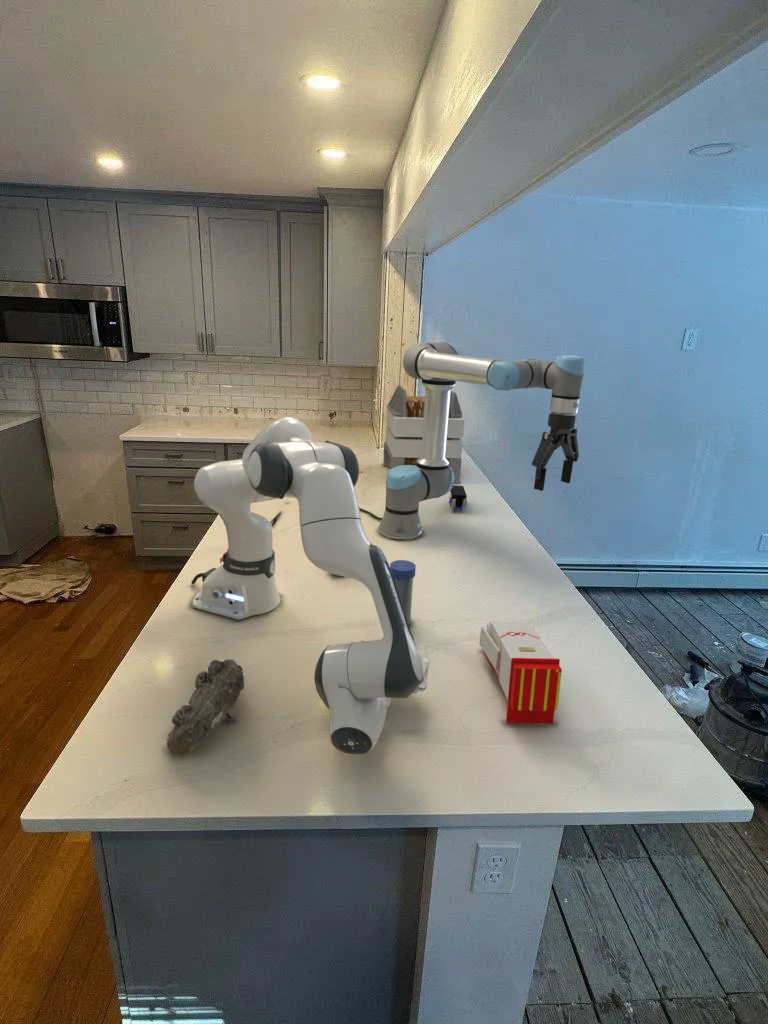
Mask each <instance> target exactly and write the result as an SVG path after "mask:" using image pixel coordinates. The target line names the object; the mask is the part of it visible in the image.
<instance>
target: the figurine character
mask: <svg viewBox="0 0 768 1024" xmlns="http://www.w3.org/2000/svg"><path fill="white" fill-rule="evenodd" d="M467 495H468V494H467V493H466V490H465V487H464V485H456V484H455V485H454V484H453V487H452V489H451V490H450V491H449V496H448V499H449V500H448V504H449V506H450V507H451V508H452V510H453V512H456V510H458V509H459V510H460V512H463V509H464V508H465V509H466V508H467V506H468V499H467V497H468V496H467Z"/></svg>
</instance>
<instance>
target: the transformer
mask: <svg viewBox="0 0 768 1024" xmlns="http://www.w3.org/2000/svg"><path fill="white" fill-rule="evenodd" d="M407 394H408V393H407V390H406V389H404V388H403V387H402V385H399V384H398V385H397V386H396V388H395V390H394V392H393V394H392V395H391V398H390V400H389V402H388V404H387V405H386V413H385V414H386V415H385V423H386V428H385V438H384V442H383V466H384V467H388V468H389V470H390V469H392V468H394V467H396V466H401V465H404V466H405V465H413V466H416V461H417V459H418V458H420V457H421V449H422V434H423V419H424V404H425V396H415V395H414V396H413V395H412V396H411V395H407ZM464 429H465V419H464V418H463V411H462V408H461V405H460V402H459V398H458V395H457V392H455V391H453V390H451V392H450V404H449V416H448V428H447V441H446V453H445V458H446V459H447V461H448V462H449V466H450V467H451V469H452V473H454V484H455V483H456V484H459V483H461V472H462V461H463V460H462V453H463V442H464V441H463V440H462V439H463V438H464V431H465V430H464Z"/></svg>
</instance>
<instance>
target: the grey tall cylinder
mask: <svg viewBox="0 0 768 1024" xmlns="http://www.w3.org/2000/svg"><path fill="white" fill-rule="evenodd" d="M394 581H395V584H396V587H397V590H398V594H399V597H400V600H401V603H402V606H403V609H404V613H405V616H406V619H407V622H408V625H409V626H410V625H411V622H412V621H411V620H412V604H413V591H414V578H412V579H409V580H399V579H395V578H394Z"/></svg>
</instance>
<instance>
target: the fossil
mask: <svg viewBox="0 0 768 1024" xmlns="http://www.w3.org/2000/svg"><path fill="white" fill-rule="evenodd" d="M243 670H244V669H243V667H242V665H240V664H237V662H236V661H235V660H234V659H232V658H231V659H227V658H226V659H224V660H223V661H222V660H217V659H212V660H211V661H210V663H209V665H208V666H207V671H201V672H199V673H198V674H197V675H196V676H195V680H194V684H195V685H194V687H195V689H194V690H193V693H192V694H191V697H190V698H189V700H188V704H184V705H182V706H181V707H180V709H177V710H176V711H175V713H174V715H173V716H172V718H171V723H172V724H173V727H172V730H171V731H170V732H168V734H167V738H166V741H167V742H166V745H167V749H168V750H169V751H173V752H174V753H176V754H178V753H182V752H188V751H189V752H192V751H193V750H195V748H196V747H197V746H199V744H200V743H201V742H203V741H204V740H205V739H206V738H207V737H208V736H209V735H210V734H211V733H212V732H214V730H215V729H217V727H218V726H219V724H220V722H221V721H222V720H223V719H224V718H225V716H226V717H227V719H229V720H233V717H232V715H230V714H229V710H230V709H231V708H234V706H235V704H236V703H237V702H238V699H239V697H240V695H241V693H242V691H243V690H245V689H244V688H245V675H244V671H243Z"/></svg>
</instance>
